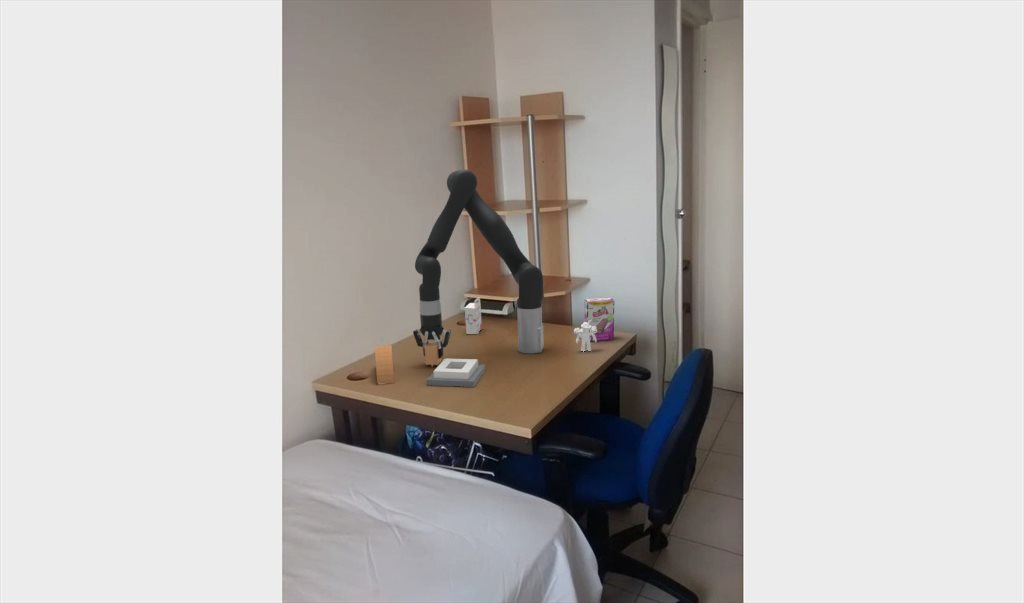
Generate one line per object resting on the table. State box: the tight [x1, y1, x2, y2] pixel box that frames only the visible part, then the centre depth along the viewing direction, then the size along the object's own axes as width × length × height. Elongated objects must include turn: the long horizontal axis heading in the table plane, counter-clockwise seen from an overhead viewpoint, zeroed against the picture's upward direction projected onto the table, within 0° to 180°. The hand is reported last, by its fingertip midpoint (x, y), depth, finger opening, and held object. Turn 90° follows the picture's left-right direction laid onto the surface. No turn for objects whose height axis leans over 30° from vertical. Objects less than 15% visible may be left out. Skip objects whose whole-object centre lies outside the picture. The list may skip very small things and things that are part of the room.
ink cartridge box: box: [464, 296, 483, 335], centre depth 269 cm, size 9×5×15 cm, turn 168°
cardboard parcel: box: [424, 340, 443, 368], centre depth 230 cm, size 4×6×8 cm
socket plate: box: [426, 357, 486, 388], centre depth 217 cm, size 16×16×4 cm
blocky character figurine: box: [573, 319, 598, 353], centre depth 239 cm, size 9×4×12 cm, turn 102°
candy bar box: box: [583, 297, 615, 342], centre depth 252 cm, size 11×5×16 cm, turn 98°
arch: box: [374, 344, 395, 384], centre depth 222 cm, size 6×20×10 cm, turn 11°
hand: (433, 357), depth 231 cm, fingers closed on cardboard parcel, 4 cm apart
